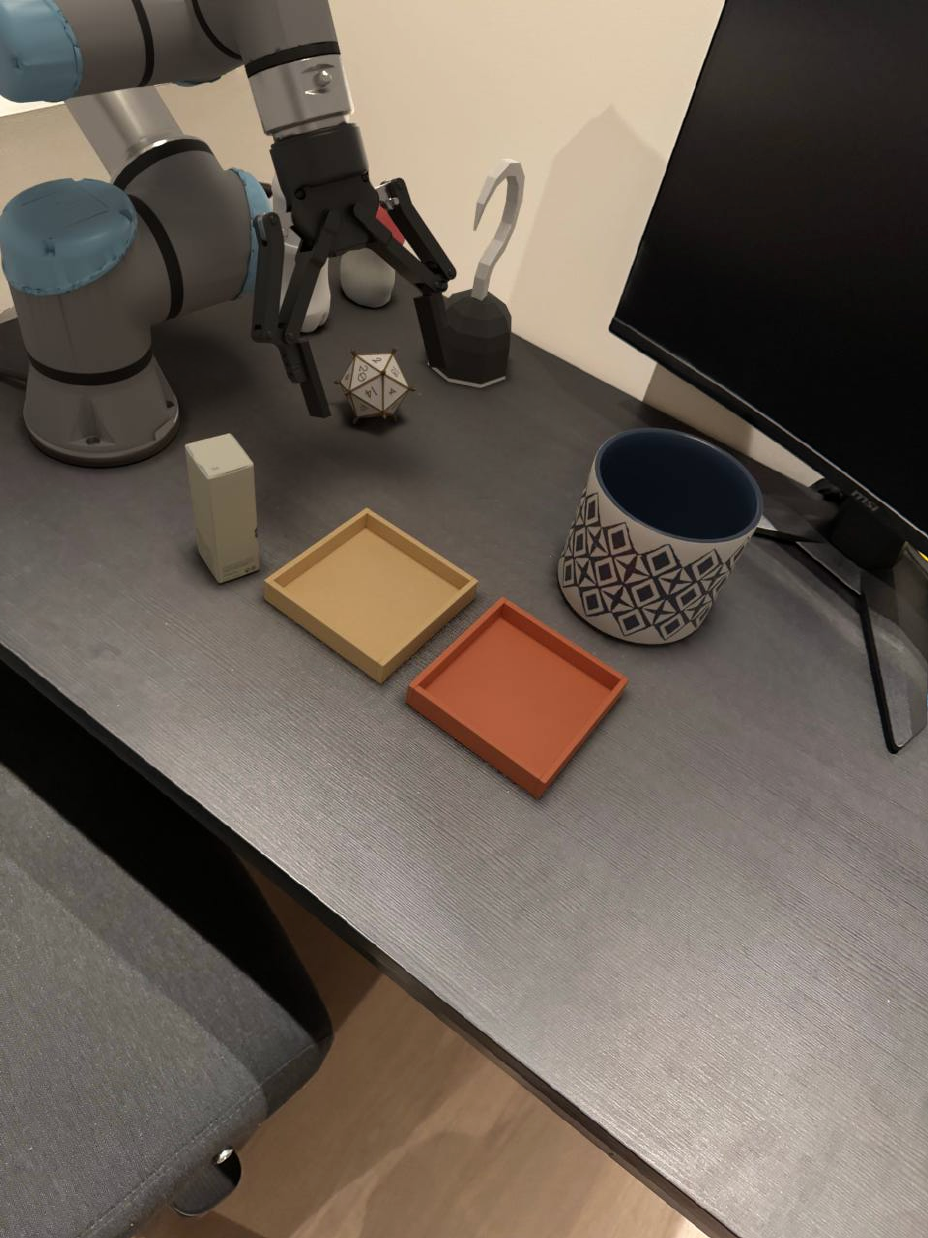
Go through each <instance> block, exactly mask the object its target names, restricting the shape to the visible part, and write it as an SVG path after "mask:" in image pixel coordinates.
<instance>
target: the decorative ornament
mask: <svg viewBox="0 0 928 1238" xmlns="http://www.w3.org/2000/svg"><path fill="white" fill-rule="evenodd" d="M376 218H377V219H378V220H379V221H380V222H381V223H382V224H383V225H384V226H386V227H387V228H388V229H389V230H390V231H391V232H392V236H393V237H394V238H395V239H396V240H397V241H398V242H400V243H401V244H402V245H403V246H404V244H405V242H406V240H405V238H404V237H403V235H402V234H401V232H400V231H399V230H398V228H397V227H396V225H395V224H394V222H393V221H392V219H391V218H390V216H389V214H388V212H387V211H386V210H384V209H383V208H382V207H381V206H380V204H379V208H378V212H377V215H376ZM339 281H340V285H341V288H342V290H343V292H344V294H345V295H346V297H347V298H348V299H350V300H351V301H353V302H354V303H356V304H357V305H360V306H365V307H369V308H379V307H383V306H384V305H386V304H387V303H388V302H389V303H390V302H391V298H392V292H393V288H394V286H395V282H396V271H395V270H394V269H393V268H392V267H391V266H390V265H388V264H387V263H386V262H385V261H384V260H383V259H382V258H380V257H379V256H378V255H377V254H376V253H375V252H374V251H372V250H371V249H368V248H363V249H360V250H353V251H348V252H347V253H345V254H344V255H341V260H340V263H339Z"/></svg>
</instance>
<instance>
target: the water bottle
mask: <svg viewBox="0 0 928 1238" xmlns="http://www.w3.org/2000/svg"><path fill="white" fill-rule="evenodd" d="M270 191H271V193H272V211H273V212H275V213H277V214H278V213H286V200H285V197H284V195H283V193H282V191H281V189H280V185H279V182H278V179H277V175H276V172H275V171H274V174H273V177H272V181H271V190H270ZM300 240H301V239H300V238H299V237H298V236H297V235H296V234H295V233H294V232H293V231H292V230H291V229H290V228H289V229H288V237H287V239H286V240H285V241H284V244H285V254H284V265H283V276H282V287H281V298H280V309H279V313H280V310H281V307H282V304H283V300H284V297H285V294H286V291H287V288H288V285H289V282H290V279H291V276H292V273H293V269H294V266H295V255H296V252H297V249H298V246H299V243H300ZM328 266H329V258H327V260H326V263H325V265H324V266H323V267H322V268H321V270H320V273H319V276H318V279H317V282H316V286H315V289H314V292H313V295H312V298H311V301H310V304H309V307H308V310H307V313H306V316H305V319H304V322H303V326H302V329H301V332H300V333H312V332H314V331H316V329H317V328H318V327H321V326H322V327H323V325H324V324H325V323H326V320H327V319H328V317H329V314H330V308H331V289H330V284H329V274H328V273H329V271H328V270H329V267H328Z"/></svg>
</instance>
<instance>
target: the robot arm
mask: <svg viewBox="0 0 928 1238" xmlns="http://www.w3.org/2000/svg"><path fill="white" fill-rule="evenodd" d="M341 54H342V53H341V49H340V45H339V40H338V36H337V31H336V27H335V24H334V19H333V15H332V11H331V7H330V2H329V0H0V97H2V98H3V99H6V100H7V101H9V102H12V103H17V104H26V103H36V102H37V103H38V102H45V103H51V104H57V103H62V102H63V103H64V105H65V106H66V108H67V110H68V111H69V113H70V114H71V116H72V118H73V119H74V121H75V122H76V124H77V126H78V127H79V129H80V131H81V132H82V134H83V135H84V137H85V138H86V140H87V142H88V144H89V145H90V146H91V148H92V150H93V151H94V153H95V154H96V156H97V158H98V160H99V161H100V163H101V164H102V165H103V167H104V168H105V170H106V172H107V174H108V175H109V177H110V181H109V182H107V181H104V180H100V179H95V178H87V177H84V178H82V179H81V180H74V178H72V177H66V178H58V179H53V180H47V181H44V182H41V183H38V184H34V185H33V186H30V187H27V188H26V189H24V190H22V191H21V192H19V193H17V194H16V195H14V196H13V197H12V198H11V199H10V200H9V201H8V202H7V204H5V206H4V207H3V209H2V212H1V215H0V256H1V257H0V259H1V260H0V262H1V269H2V272H3V275H4V277H5V280H6V281H7V284H8V288H9V291H10V296H11V298H12V302H13V306H14V310H15V314H16V317H17V321H18V325H19V328H20V332H21V336H22V340H23V343H24V347H25V350H26V351H25V352H26V354H27V359H28V362H29V365H28V366H29V367H28V373H27V372H23V371H21V370H20V371H19V370H17V369H12V368H8V367H3V366H0V376H1V377H6V378H9V379H14V380H17V381H21V382H25V383H26V391H25V399H24V403H23V409H22V410H23V411H22V414H23V419H24V422H25V427H26V429H27V433H28V436H29V438H30V440H31V442H32V443H33V444H34V445H35V446H36V447H37V448H38V449H39V450H40V451H41V452H43V453H45V454H46V455H48V456H49V457H52V458H54V459H55V460H58V461H61V462H64V463H66V464H67V463H68V464H70V465H75V466H81V467H90V468H91V467H92V468H96V467H97V468H106V467H108V468H109V467H117V466H123V465H128V464H133V463H136V462H139V461H142V460H145V459H147V458H149V457H152V456H154V455H155V454H157V453H159V452H160V451H162V450H163V449H165V448H166V447H167V446H168V445H169V444H170V443H171V442H172V441H173V439H174V438H175V437H176V435H177V433H178V432H179V431H178V430H179V428H180V420H181V419H180V413H179V411H180V410H179V404H178V399H177V396H176V394H175V393H174V391H173V389H172V387H171V385H170V384H169V382H168V380H167V378H166V376H165V374H164V372H163V371H162V369H161V366H160V365H159V363H158V360H157V359H156V357H155V355H154V351H153V344H152V342H153V341H152V334H151V327H153V326H155V325H158V324H161V323H163V322H166V321H169V320H173V319H177V318H180V317H182V316H186V315H188V314H192V313H195V312H199V311H201V310H204V309H207V308H211V307H213V306H216V305H221V304H223V303H225V302H229V301H231V302H232V301H236V300H238V299H241V298H242V297H243V296H245V295H247V294H249V293H252V292H254V294H253V295H254V297H253V307H252V320H251V331H250V338H251V339H252V340H253V342H255V343H258V344H271V345H275V346H276V347H277V349H278V351H279V354H280V357H281V360H282V363H283V366H284V369H285V372H286V376H287V378H288V380H289V381H290V382H291V383H292V384H299V386H300V389H301V392H302V395H303V399H304V402H305V405H306V409H307V412H308V415H309V417H314V418H320V419H327V418H329V417H331V416H332V413H331V412H332V411H331V410H330V407H329V403H328V400H327V396H326V393H325V390H324V387H323V384H322V380H321V377H320V373H319V371H318V367H317V364H316V360H315V357H314V354H313V351H312V347H311V345H310V341H309V340H307V339H305V340H304V339H299V338H300V335H301V333H302V332H301V329H302V326H303V322H304V319H305V316H306V313H307V310H308V307H309V304H310V301H311V298H312V295H313V292H314V289H315V286H316V282H317V279H318V276H319V273H320V270H321V268H322V267H323V266H324V265H325V263H326V260H327V258H330V259H331V258H337V257H340V256H341V257H342V256H343V255H344V254H345V253H347V252H348V251H353V250H360V249H363V248H368V249H371V250H372V251H374V252H375V253H376V254H377V255H378V256H379V257H380V258H382V259H383V260H384V261H385V262H386V263H387V264H388V265H390V266H391V267H392V268H393V269H394V270H395V273H397V274H399V275H400V276H401V277H402V278H403V279H404V280H405V281H407V283H409V284H410V285H411V286H413V287H414V288H415V289H416V290H417V291H418V292H419V293H421V294H422V295H417V296H415V297H412V300H413V304H414V308H415V313H416V316H417V320H418V321H417V322H418V324H419V328H420V332H421V338H422V342H423V345H424V349H425V353H426V354H425V355H426V358H427V363H428V362H429V365H428V366H429V368H431V369H432V368H445V369H446V368H449V367H451V366H452V363H451V358H450V354H449V350H448V345H447V341H446V337H445V332H444V328H446V327H448V318H447V315H446V314H447V313H446V310H445V305H444V302H445V300H444V296H443V293H446V292H447V291H448V288H449V282H450V281H453V280H454V281H455V279H456V278H457V274H458V271H457V269H456V266H454V264H453V263H452V261H451V260H450V258H449V256H448V255H447V253H446V252H445V251H444V249H443V248H442V246H441V244H440V243H439V242H438V240H437V238H436V237H435V236H434V234H433V233H432V231H431V229H429V227H428V225H427V224H426V222H425V220H424V219H423V218H422V216H421V215H420V213H419V212H418V210H417V209H416V207H415V206H414V204H413V202H412V199H411V197H410V193H409V189H408V186H407V184H406V181H405V179H404V178H402V177H395V178H392V179H387V180H383V181H381V182H380V183H379V185H378V186H374V185H373V183H372V181H371V179H370V163H369V160H368V155H367V151H366V148H365V144H364V139H363V135H362V131H361V127H360V126H359V125H358V126H357V122H351V120H350V117H351V116H352V115H354V114H355V113H354V112H355V106H354V101H353V98H352V93H351V89H350V86H349V82H348V78H347V73H346V69H345V66H344V61H343V57H342V55H341ZM242 66H244V67H243V68H244V71H245V74H246V77H247V79H248V83H249V84H248V85H249V87H250V90H251V91H250V92H251V94H252V97H253V101H254V104H255V107H256V111H257V114H258V118H259V121H260V126H261V129H262V131H263V134H264V135H265V136H267V137H272V140H273V143H271V144H270V146H269V147H270V149H268V152H269V155H270V158H271V162H272V164H273V165H272V166H273V169H274V173H275V172H276V175H277V179H278V182H279V185H280V189H281V191H282V193H283V195H284V197H285V200H286V213H278V214H277V213H275V212H273V207H272V205H271V203H270V200H269V198H268V196H267V194H266V192H265V191H266V190H265V189H264V188H263V186H262V184H261V183H260V182H259V181H258V179H257V178H256V177H255V176H254V175H253V174H252V173H250V172H249V171H245V170H243V169H242V168H238V167H237V168H236V167H235V166H232V167H229V168H228V169H224V168H223V167H222V165H221V163H220V162H219V160H218V159H217V157H216V155H215V154H214V152H213V151H212V149H211V147H210V146H209V144H208V143H207V142H206V141H205V140H204V139H202V138H200V137H197V136H194V135H189V134H184V131H183V130H182V129H181V127H180V126H179V124H178V122H177V120H176V118H175V117H174V116H173V114H172V113H171V111H170V109H169V107H168V105H167V104H166V103H165V101H164V99H163V97H162V96H161V95H160V93H159V91H158V90H157V88H156V86H160V85H167V84H173V85H176V86H178V87H183V88H193V87H196V86H200V85H203V84H213V83H215V82H217V81H220V80H221V78H222V76H226V75H227V74H228V73H230V72H232V71H234V70H236V69H238V68H240V67H242ZM379 204H380V206H381V207H382V208H383V209H384V210H386V211H387V212H388V214H389V216H390V218H391V219H392V221H393V222H394V224H395V225H396V227H397V228H398V230H399V231H400V232H401V234H402V235H403V237H404V238H405V242H407V244H408V245H409V247H410V249H411V250H412V251H413V253H414V254H415V255H416V256H415V255H414V254H413V253H412V252H411V251H410V250H409V249H407V248H406V247H405V246H404V244H403V245H402V244H401V243H400V242H398V241H397V240H396V239H395V238H394V237H393V236H392V232H391V231H390V230H389V229H388V228H387V227H386V226H384V225H383V224H382V223H381V222H380V221H379V220H378V219H377V218H376V215H377V212H378V208H379ZM289 228H290V229H291V230H292V231H293V232H294V233H295V234H296V235H297V236H298V237H299V238H300V239H301V240H300V243H299V246H298V249H297V252H296V255H295V266H294V269H293V273H292V276H291V279H290V282H289V285H288V288H287V291H286V294H285V297H284V300H283V304H282V307H281V310H280V313H279V309H280V298H281V287H282V276H283V265H284V254H285V244H284V241H285V240H286V239H287V237H288V229H289Z"/></svg>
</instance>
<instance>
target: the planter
mask: <svg viewBox="0 0 928 1238" xmlns="http://www.w3.org/2000/svg"><path fill="white" fill-rule="evenodd" d="M763 513H764V500H763V494H762V492H761V489H760V487H759V485H758V483H757V482H756V479H755V478H754V476H753V475H752V474H751V473H750V471H749V470H748V469H747V468H746V467H745V466H744V465H743V463H741V461H739V460H737V459H736V458H735V457H734V456H732V454H730V453H729V452H727V451H726V450H724V449H722V448H721V447H720V446H718V445H715V444H713V443H712V442H710V441H708V440H706V439H703V438H701V437H698V436H696V435H694V434H690V433H687V432H682V431H678V430H675V429H669V428H661V427H640V428H632V429H629V430H628V429H627V430H624V431H622V432H619V433H616V434H614V435H613V436H611V437H609V438H608V439H607V440H606V441H605V442H604V443H602V444H601V445H600V447H599V449H598V450H597V452H596V454H595V456H594V459H593V462H592V465H591V468H590V470H589V473H588V476H587V479H586V482H585V485H584V488H583V490H582V493H581V497H580V499H579V502H578V504H577V508H576V511H575V514H574V516H573V519H572V522H571V525H570V528H569V531H568V534H567V537H566V539H565V542H564V544H563V548H562V550H561V555H560V557H559V560H558V564H557V578H558V583H559V586H560V590H561V591H562V594H563V595H564V598H565V599H566V601H567V602H568V603H569V605H570V606H571V608H572V609H573V610H574V611H575V612H576V613H577V614H578V615H579V616H580V617H581V618H582V619H584V620H585V621H586V622H587V623H589V624H590V625H592V626H593V627H595V628H596V629H598V630H599V631H601V632H603V633H604V634H608V635H610V636H612V637H613V638H617V639H621V640H623V641H625V642H631V643H635V644H643V645H644V644H645V645H662V644H663V645H664V644H668V643H673V642H676V641H679V640H682V639H684V638H686V637H688V636H689V635H691V634H692V633H694V632H695V631H696V630H697V629H698V628H699V627H700V626H701V624H702V623H703V622H704V620H705V618H706V617H707V615H708V613H709V611H710V610H711V608H712V606H713V605H714V603H715V601H716V599H717V598H718V596H719V595H720V593H721V591H722V589H723V587H724V585H725V584H726V582H727V580H728V579H729V577H730V575H731V573H732V572H733V570H734V568H735V566H736V565H737V563H738V561H739V560H740V557H741V556H742V554H743V553H744V551H745V549H746V547H747V546H748V543H749V542H750V540H751V539H752V536H753V535H754V533H755V531H756V530H757V527H758V525H759V524H760V522H761V519H762V518H763V517H762V516H763Z"/></svg>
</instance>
